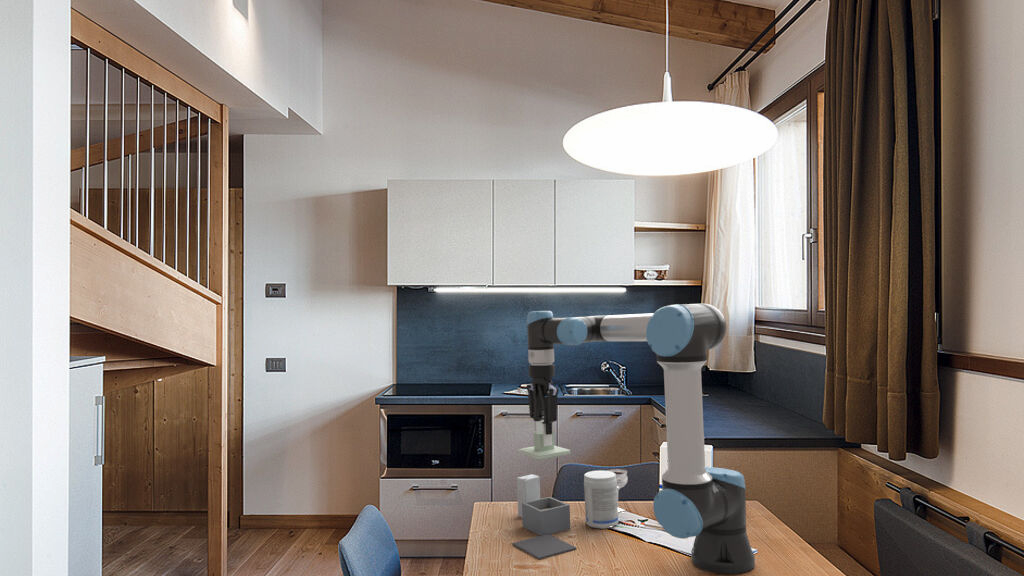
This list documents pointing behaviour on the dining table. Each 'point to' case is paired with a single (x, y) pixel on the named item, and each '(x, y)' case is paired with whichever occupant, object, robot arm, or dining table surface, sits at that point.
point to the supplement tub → (601, 499)
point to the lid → (543, 449)
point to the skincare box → (527, 490)
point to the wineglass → (620, 481)
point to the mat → (544, 546)
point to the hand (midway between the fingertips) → (543, 444)
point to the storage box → (546, 516)
